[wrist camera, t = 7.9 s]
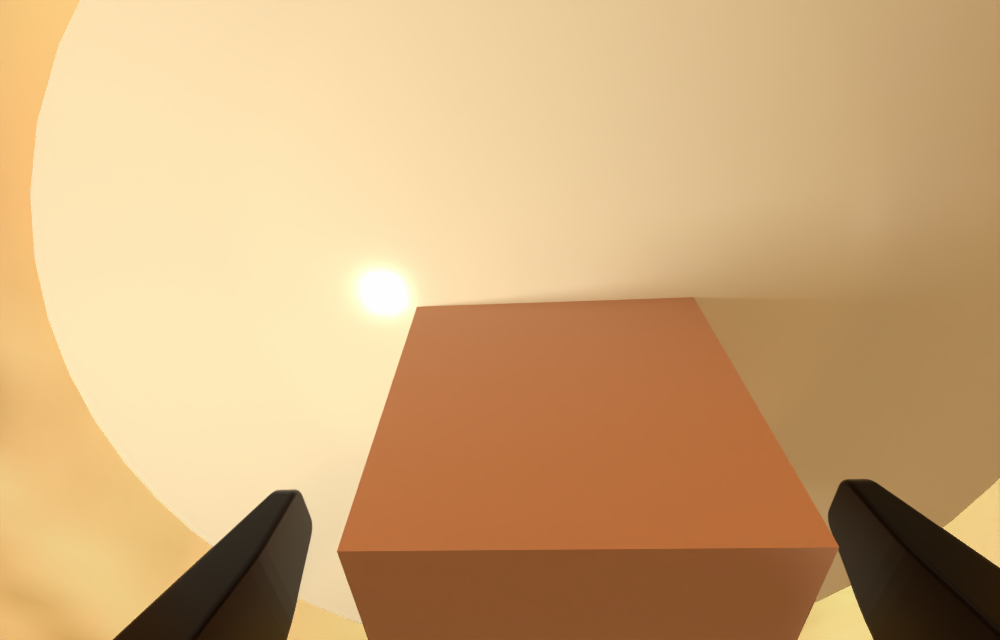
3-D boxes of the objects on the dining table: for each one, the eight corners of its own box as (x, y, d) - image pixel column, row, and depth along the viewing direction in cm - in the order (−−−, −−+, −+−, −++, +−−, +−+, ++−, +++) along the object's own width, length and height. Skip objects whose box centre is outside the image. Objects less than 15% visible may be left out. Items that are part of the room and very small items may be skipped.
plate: (872, 615, 16) (896, 656, 15) (257, 617, 18) (241, 655, 17) (1418, -349, 6) (1601, -420, 5) (-188, -187, 7) (-305, -218, 6)
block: (663, 487, 12) (743, 758, 8) (447, 490, 12) (408, 753, 8) (693, 297, 9) (838, 547, 5) (416, 306, 10) (336, 552, 5)
